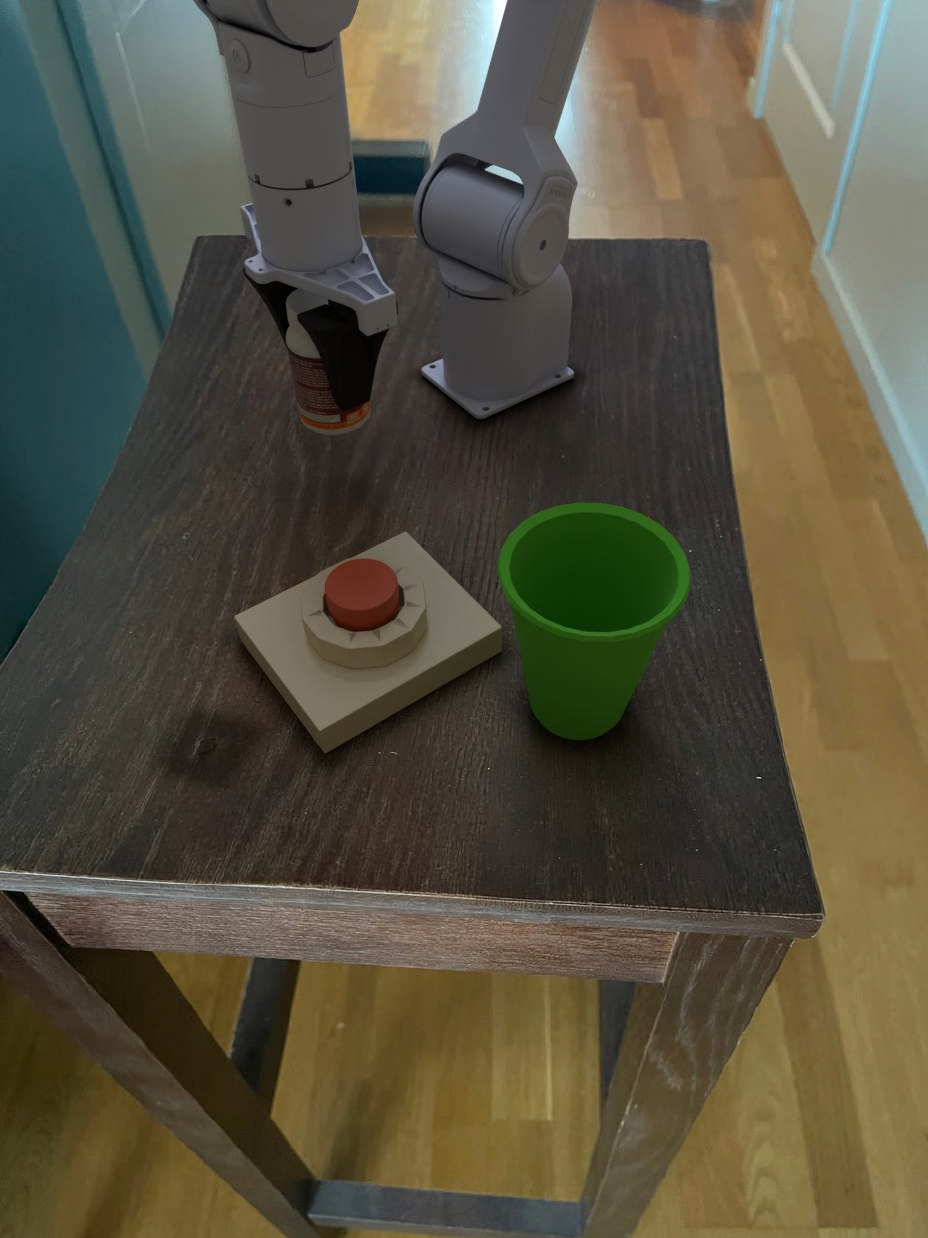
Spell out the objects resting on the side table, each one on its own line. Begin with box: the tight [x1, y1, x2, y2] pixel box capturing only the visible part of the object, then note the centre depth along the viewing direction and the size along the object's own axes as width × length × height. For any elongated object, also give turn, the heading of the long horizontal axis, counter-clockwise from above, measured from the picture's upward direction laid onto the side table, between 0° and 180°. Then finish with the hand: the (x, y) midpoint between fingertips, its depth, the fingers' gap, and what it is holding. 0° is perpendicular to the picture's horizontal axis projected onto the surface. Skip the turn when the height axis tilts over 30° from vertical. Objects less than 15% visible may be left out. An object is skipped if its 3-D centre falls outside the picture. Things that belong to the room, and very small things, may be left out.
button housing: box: [233, 530, 503, 754], centre depth 53 cm, size 12×10×4 cm
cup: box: [496, 502, 692, 741], centre depth 47 cm, size 9×9×11 cm
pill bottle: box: [286, 288, 372, 436], centre depth 58 cm, size 5×5×8 cm
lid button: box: [325, 558, 400, 631], centre depth 51 cm, size 4×4×2 cm
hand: (332, 383), depth 59 cm, fingers closed on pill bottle, 5 cm apart
